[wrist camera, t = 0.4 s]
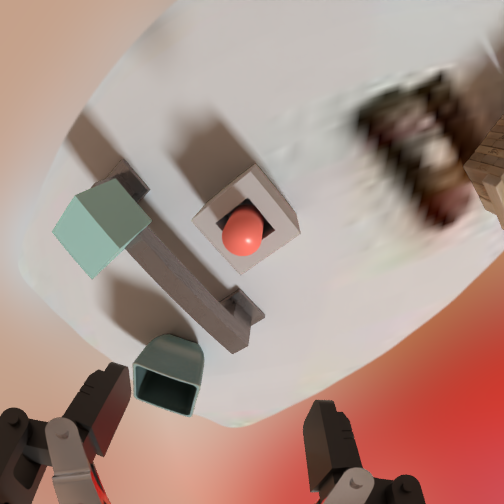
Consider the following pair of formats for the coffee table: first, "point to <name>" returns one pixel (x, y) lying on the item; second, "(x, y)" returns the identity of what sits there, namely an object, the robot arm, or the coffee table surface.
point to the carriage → (100, 225)
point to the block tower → (489, 171)
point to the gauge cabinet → (265, 200)
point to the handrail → (187, 278)
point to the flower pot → (169, 374)
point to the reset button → (243, 230)
